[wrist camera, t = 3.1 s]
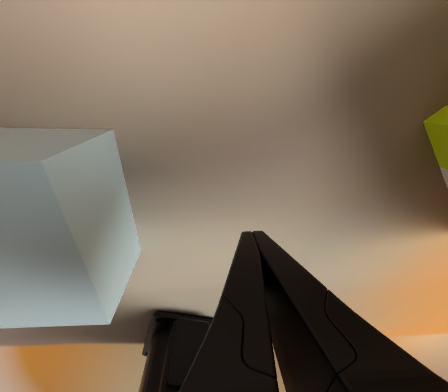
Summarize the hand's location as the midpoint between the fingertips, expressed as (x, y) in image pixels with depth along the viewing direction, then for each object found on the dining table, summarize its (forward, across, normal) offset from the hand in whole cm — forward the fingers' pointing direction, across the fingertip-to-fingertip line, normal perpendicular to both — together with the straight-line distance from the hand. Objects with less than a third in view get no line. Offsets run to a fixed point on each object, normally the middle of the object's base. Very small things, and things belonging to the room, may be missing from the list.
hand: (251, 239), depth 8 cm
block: (+4, +11, 0) cm, 12 cm away
